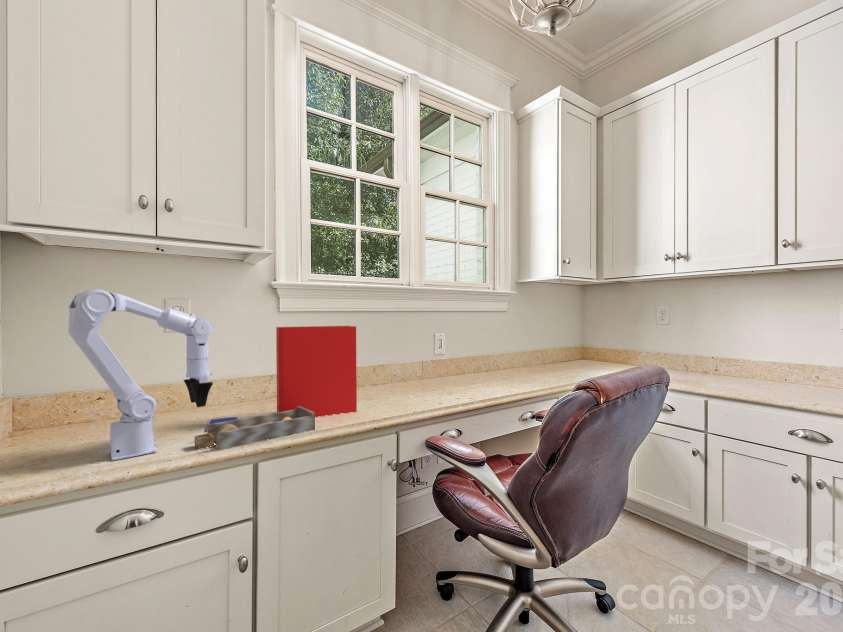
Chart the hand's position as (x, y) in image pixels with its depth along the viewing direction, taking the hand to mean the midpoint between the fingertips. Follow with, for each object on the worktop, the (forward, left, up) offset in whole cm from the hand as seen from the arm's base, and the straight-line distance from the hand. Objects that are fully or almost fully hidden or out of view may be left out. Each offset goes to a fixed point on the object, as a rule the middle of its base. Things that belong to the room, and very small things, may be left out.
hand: (198, 404), depth 116 cm
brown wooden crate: (0, -10, -10) cm, 14 cm away
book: (+39, +2, -10) cm, 40 cm away
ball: (+23, -10, -8) cm, 26 cm away
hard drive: (+9, +9, -11) cm, 17 cm away
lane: (+15, -10, -14) cm, 23 cm away
